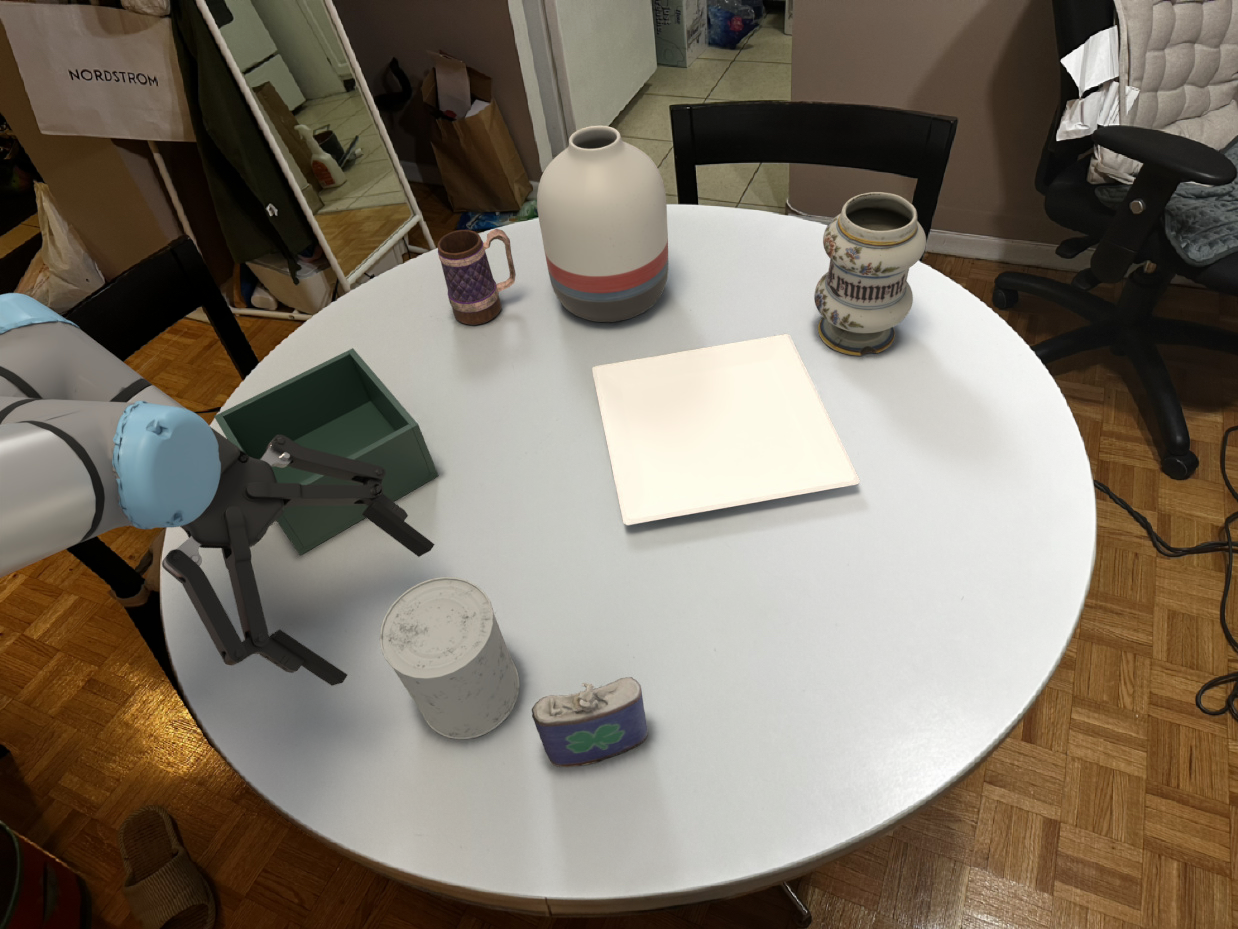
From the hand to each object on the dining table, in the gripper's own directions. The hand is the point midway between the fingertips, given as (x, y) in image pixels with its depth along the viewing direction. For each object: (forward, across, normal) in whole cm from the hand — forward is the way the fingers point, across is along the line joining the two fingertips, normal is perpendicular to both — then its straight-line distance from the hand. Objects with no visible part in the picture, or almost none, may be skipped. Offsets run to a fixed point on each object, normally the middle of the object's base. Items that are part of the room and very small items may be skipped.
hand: (386, 612), depth 68 cm
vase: (+4, -61, -12) cm, 62 cm away
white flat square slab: (+20, -39, +4) cm, 44 cm away
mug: (-7, -53, -23) cm, 58 cm away
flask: (+22, +1, +6) cm, 22 cm away
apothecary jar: (+29, -62, +13) cm, 70 cm away
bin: (-9, -19, -24) cm, 32 cm away
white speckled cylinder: (+12, 0, -4) cm, 12 cm away
